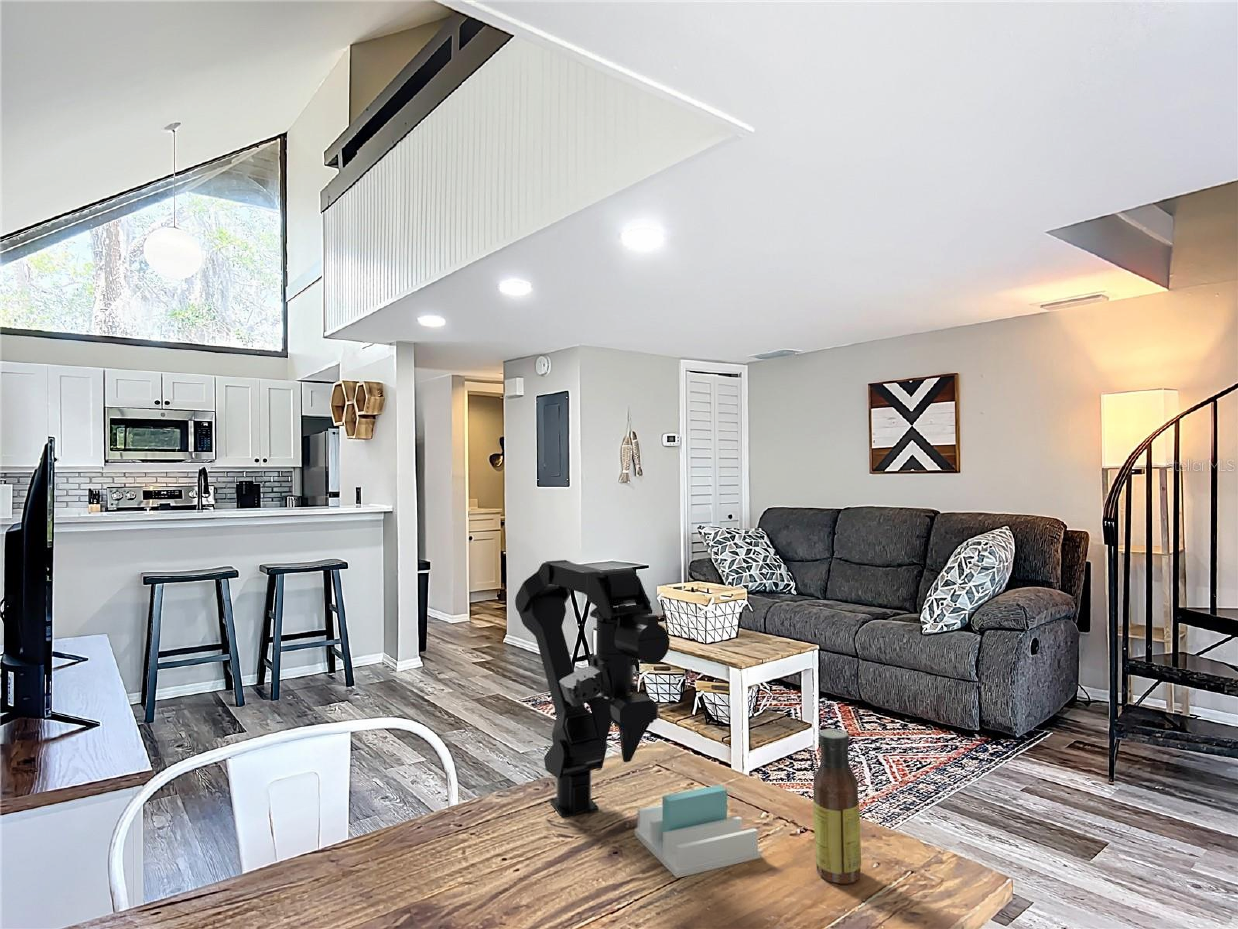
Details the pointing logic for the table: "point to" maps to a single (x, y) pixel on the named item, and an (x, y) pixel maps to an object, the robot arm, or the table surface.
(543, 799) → the table surface
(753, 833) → the dish rack
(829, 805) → the sauce bottle
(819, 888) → the table surface
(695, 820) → the light blue block
